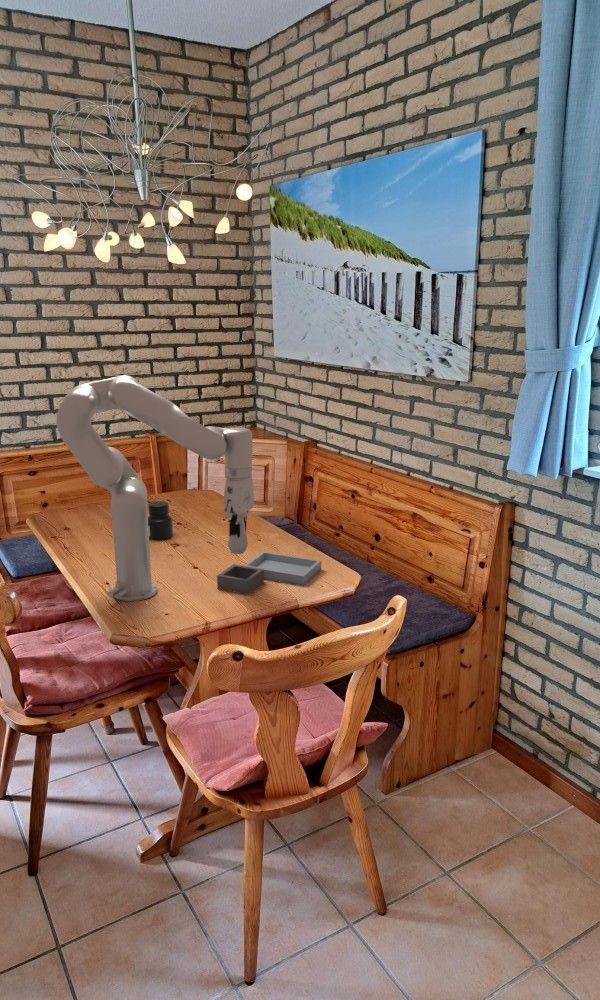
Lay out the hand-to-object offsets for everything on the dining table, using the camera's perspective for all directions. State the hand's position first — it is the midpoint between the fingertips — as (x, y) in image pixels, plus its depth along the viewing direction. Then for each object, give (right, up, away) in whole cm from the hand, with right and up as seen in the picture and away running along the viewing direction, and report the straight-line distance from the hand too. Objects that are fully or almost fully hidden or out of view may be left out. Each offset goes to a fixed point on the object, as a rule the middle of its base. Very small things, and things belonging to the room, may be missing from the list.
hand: (237, 534), depth 203 cm
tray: (+12, -12, +14) cm, 23 cm away
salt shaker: (0, -5, +1) cm, 6 cm away
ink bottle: (-31, -3, +46) cm, 55 cm away
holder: (0, -15, +5) cm, 16 cm away
